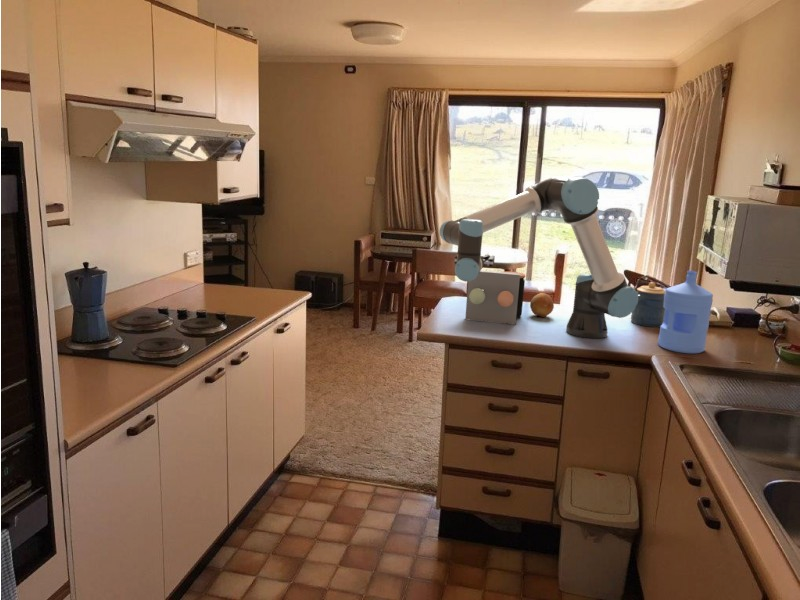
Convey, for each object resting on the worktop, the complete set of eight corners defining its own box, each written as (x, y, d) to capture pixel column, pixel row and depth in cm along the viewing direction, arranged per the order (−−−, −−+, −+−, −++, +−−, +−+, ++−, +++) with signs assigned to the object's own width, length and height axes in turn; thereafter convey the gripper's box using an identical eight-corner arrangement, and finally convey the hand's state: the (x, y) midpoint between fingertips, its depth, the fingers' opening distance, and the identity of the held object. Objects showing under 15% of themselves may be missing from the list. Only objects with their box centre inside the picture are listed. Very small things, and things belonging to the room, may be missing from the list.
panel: (466, 317, 251) (469, 269, 246) (515, 322, 246) (520, 273, 242) (465, 319, 248) (468, 270, 243) (515, 324, 244) (519, 274, 239)
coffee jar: (520, 313, 262) (524, 272, 259) (522, 319, 252) (526, 276, 248) (495, 312, 263) (498, 270, 260) (496, 317, 253) (500, 275, 249)
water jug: (679, 340, 232) (690, 267, 226) (714, 352, 217) (727, 275, 212) (647, 343, 226) (658, 268, 220) (681, 355, 212) (693, 276, 206)
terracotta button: (498, 301, 246) (499, 287, 244) (513, 303, 244) (514, 288, 243) (496, 306, 238) (498, 291, 236) (512, 307, 236) (513, 292, 235)
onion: (523, 314, 261) (526, 291, 259) (540, 312, 266) (542, 290, 264) (540, 320, 253) (543, 296, 251) (557, 317, 258) (559, 294, 256)
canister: (641, 327, 249) (647, 285, 245) (624, 319, 261) (629, 279, 257) (670, 327, 251) (676, 285, 248) (651, 319, 264) (657, 279, 260)
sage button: (471, 299, 248) (472, 284, 247) (485, 300, 247) (487, 286, 246) (468, 303, 240) (469, 288, 239) (483, 304, 239) (485, 289, 237)
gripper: (443, 272, 210) (453, 263, 232) (498, 277, 206) (502, 267, 228) (445, 250, 209) (454, 243, 231) (500, 255, 205) (504, 247, 227)
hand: (478, 255), depth 230 cm, fingers open, 6 cm apart
